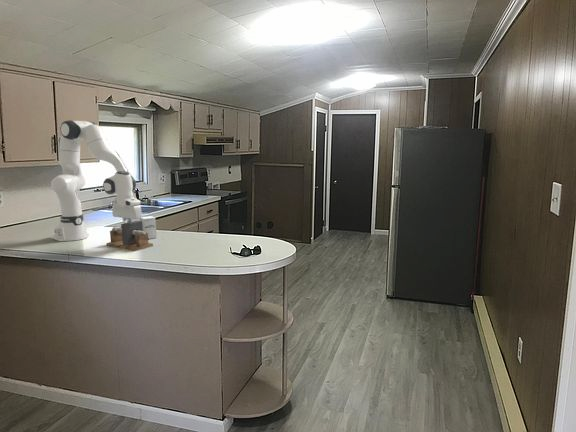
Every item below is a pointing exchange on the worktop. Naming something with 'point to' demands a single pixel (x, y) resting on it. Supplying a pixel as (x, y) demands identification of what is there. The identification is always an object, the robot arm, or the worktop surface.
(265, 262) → the worktop surface
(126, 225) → the grey flat block
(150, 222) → the supplement box
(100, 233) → the worktop surface
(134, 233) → the pipe stand
